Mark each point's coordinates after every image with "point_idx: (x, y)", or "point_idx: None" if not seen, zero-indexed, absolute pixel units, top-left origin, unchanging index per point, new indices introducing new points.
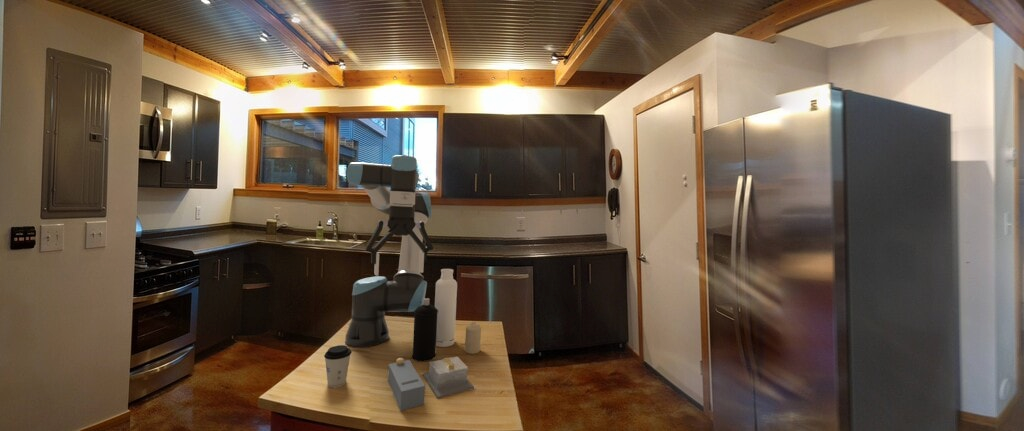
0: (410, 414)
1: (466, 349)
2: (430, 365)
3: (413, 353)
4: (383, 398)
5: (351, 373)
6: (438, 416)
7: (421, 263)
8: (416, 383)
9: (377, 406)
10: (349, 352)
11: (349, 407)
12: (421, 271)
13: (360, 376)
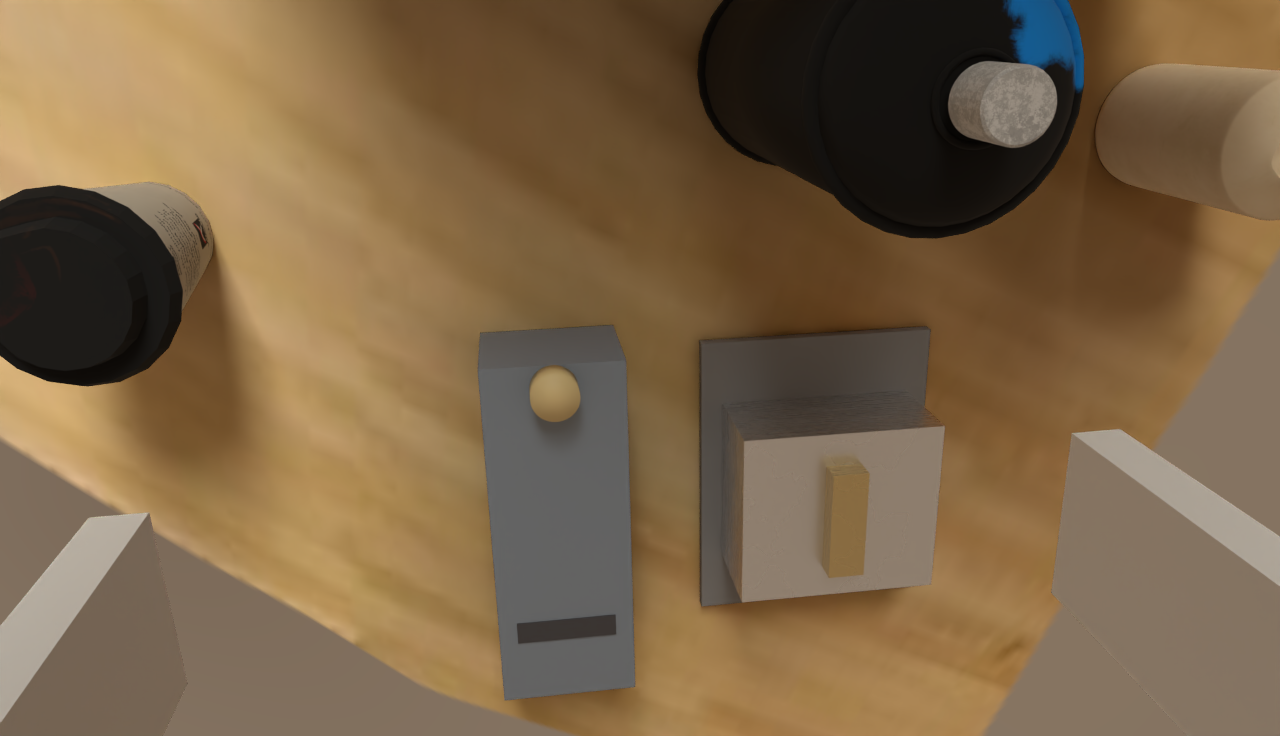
0: None
1: (1107, 143)
2: (741, 458)
3: (711, 84)
4: (435, 506)
5: (244, 132)
6: (658, 722)
7: (1174, 720)
8: (597, 653)
9: (398, 564)
10: (163, 334)
11: (256, 525)
12: (1072, 607)
13: (308, 203)
